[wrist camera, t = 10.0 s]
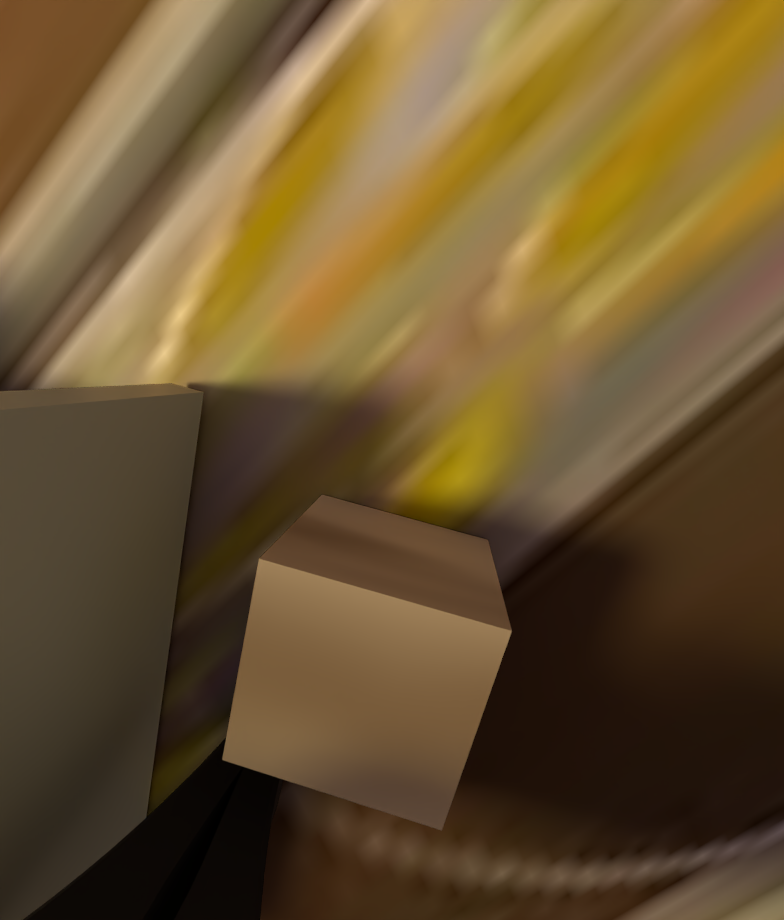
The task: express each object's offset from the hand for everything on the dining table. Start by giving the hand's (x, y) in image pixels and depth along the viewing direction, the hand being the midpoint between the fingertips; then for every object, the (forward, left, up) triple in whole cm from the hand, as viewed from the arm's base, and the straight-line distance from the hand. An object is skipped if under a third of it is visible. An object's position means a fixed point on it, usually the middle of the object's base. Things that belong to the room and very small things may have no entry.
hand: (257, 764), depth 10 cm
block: (+5, -2, -1) cm, 5 cm away
